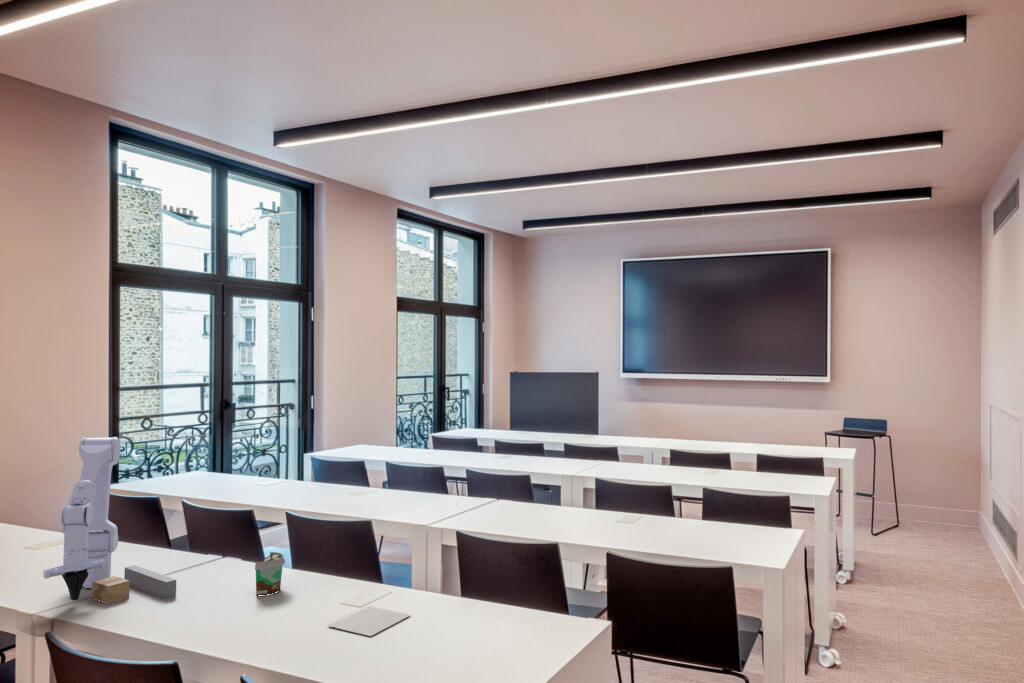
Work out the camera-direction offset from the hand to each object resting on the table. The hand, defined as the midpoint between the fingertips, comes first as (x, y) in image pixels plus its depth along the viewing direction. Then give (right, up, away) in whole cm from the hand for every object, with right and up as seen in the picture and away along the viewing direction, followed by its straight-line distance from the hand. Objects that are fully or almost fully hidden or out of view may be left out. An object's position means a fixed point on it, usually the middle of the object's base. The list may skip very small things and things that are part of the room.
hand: (74, 599), depth 190 cm
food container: (+49, -3, +14) cm, 51 cm away
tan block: (+6, -2, +7) cm, 9 cm away
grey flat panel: (+80, -3, -4) cm, 81 cm away
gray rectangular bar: (+13, -3, +15) cm, 20 cm away
